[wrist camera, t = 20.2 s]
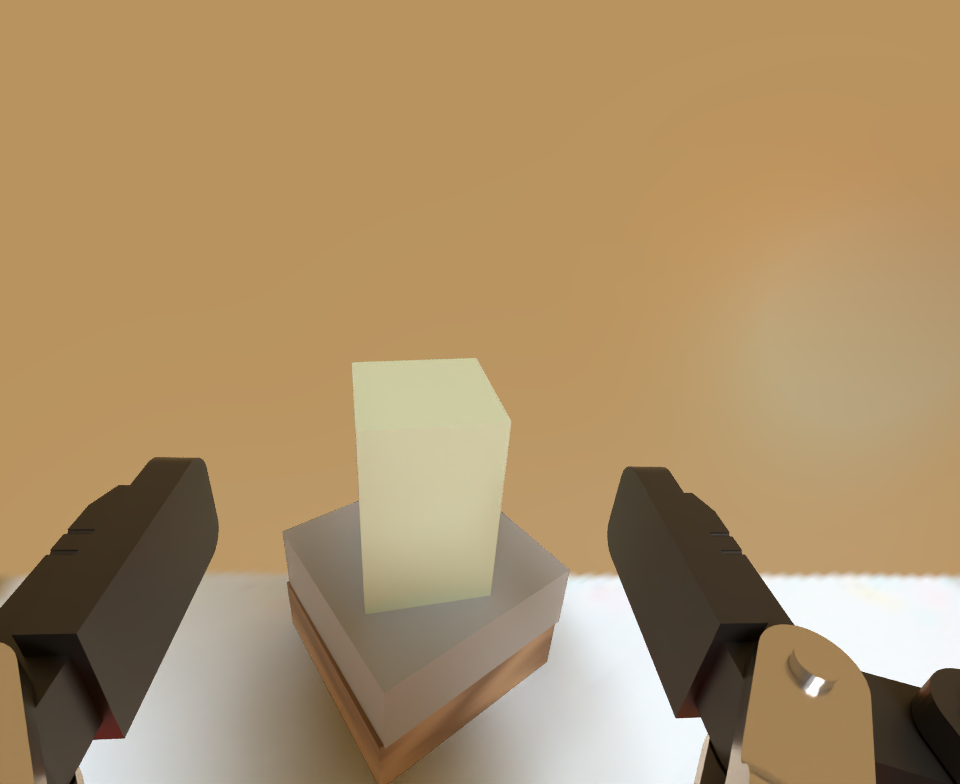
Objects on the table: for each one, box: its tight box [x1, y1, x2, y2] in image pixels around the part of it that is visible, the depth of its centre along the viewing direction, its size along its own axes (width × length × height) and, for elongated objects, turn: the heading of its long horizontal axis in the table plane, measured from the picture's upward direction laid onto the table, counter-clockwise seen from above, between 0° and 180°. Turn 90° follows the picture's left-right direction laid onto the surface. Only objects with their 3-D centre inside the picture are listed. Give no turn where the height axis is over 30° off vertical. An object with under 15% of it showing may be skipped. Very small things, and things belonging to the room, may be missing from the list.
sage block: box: [352, 358, 511, 615], centre depth 24 cm, size 6×6×10 cm
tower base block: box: [287, 581, 555, 784], centre depth 30 cm, size 11×11×4 cm
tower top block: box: [283, 501, 570, 749], centre depth 28 cm, size 11×11×4 cm
